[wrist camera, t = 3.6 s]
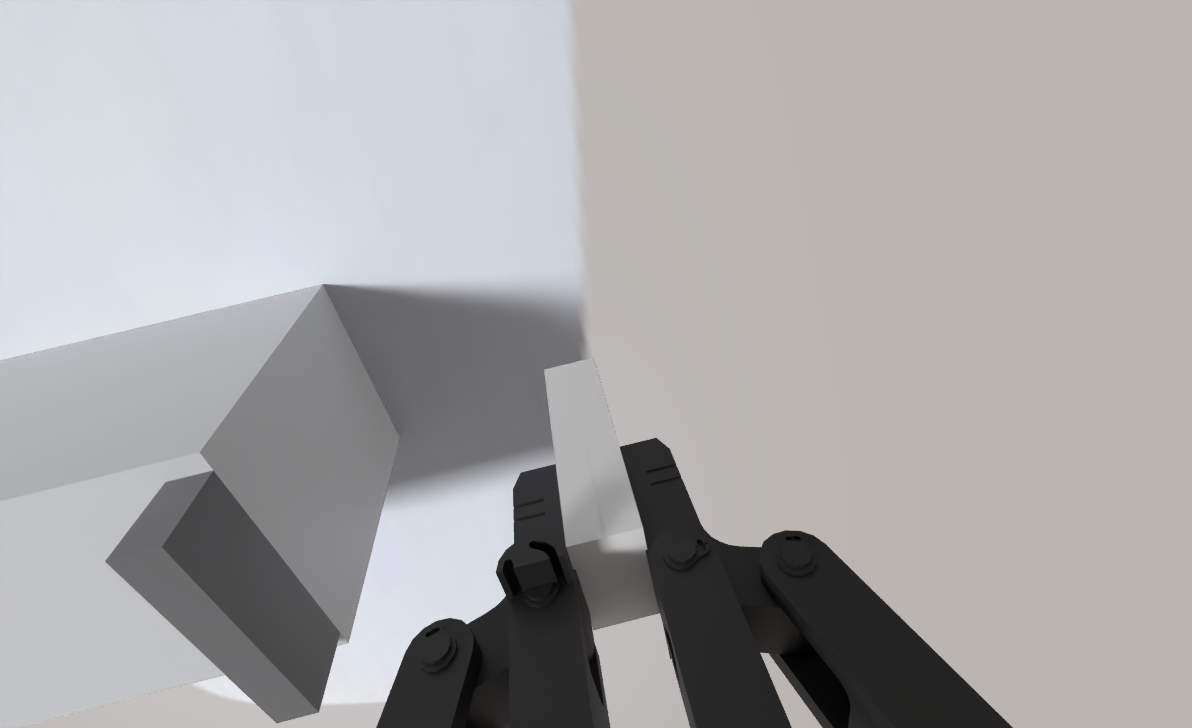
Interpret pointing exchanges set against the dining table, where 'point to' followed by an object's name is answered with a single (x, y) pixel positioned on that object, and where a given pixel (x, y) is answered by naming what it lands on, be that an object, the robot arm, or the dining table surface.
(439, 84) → the dining table surface
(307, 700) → the grey box with ridge
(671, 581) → the robot arm
